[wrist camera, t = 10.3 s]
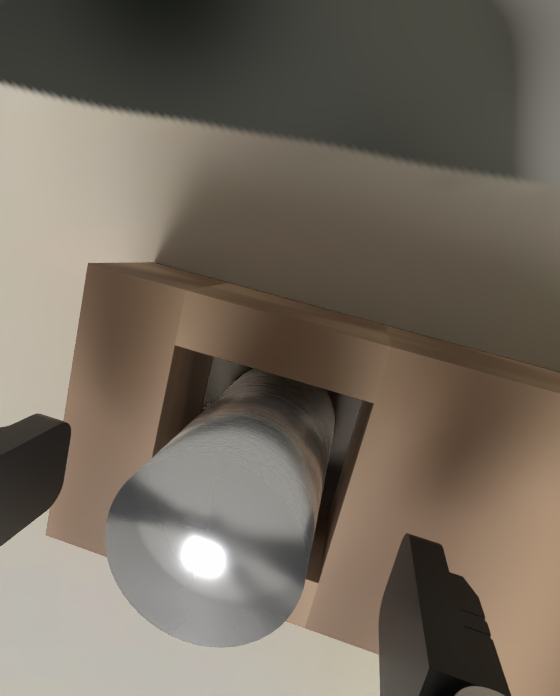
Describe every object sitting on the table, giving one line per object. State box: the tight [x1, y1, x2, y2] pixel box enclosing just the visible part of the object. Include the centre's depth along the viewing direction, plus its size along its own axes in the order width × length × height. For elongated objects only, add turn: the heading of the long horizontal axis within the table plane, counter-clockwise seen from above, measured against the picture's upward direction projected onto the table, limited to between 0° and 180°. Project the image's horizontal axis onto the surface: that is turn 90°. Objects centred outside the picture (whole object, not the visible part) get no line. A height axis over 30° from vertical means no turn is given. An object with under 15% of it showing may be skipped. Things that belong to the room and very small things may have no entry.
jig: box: [46, 262, 560, 696], centre depth 14 cm, size 25×8×4 cm, turn 76°
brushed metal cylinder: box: [105, 368, 335, 647], centre depth 13 cm, size 4×4×8 cm
